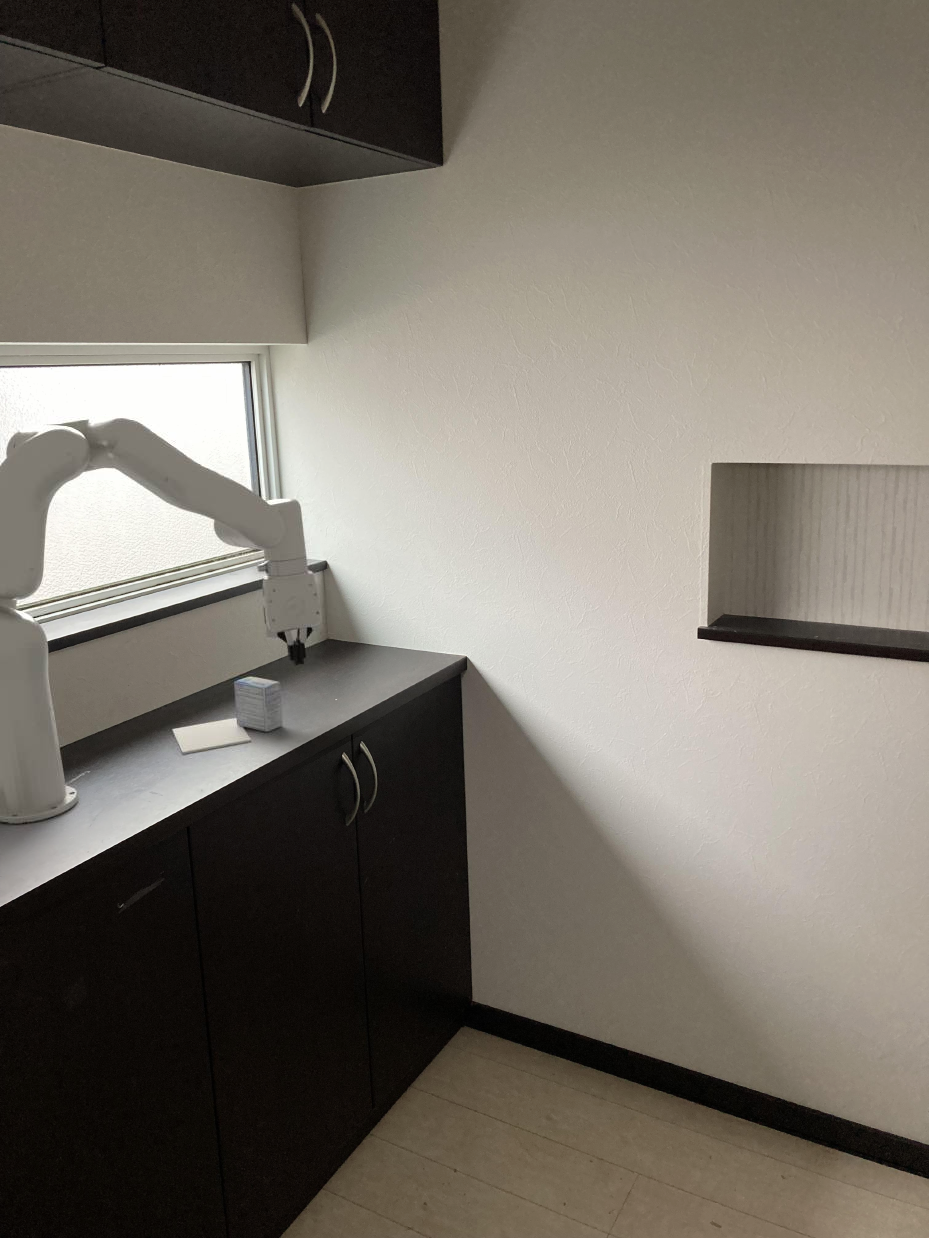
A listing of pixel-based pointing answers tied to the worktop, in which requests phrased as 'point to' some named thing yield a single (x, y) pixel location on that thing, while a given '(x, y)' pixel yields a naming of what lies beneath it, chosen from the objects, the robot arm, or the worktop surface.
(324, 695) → the worktop surface
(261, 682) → the medicine box
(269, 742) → the worktop surface
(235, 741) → the mat
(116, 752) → the worktop surface
